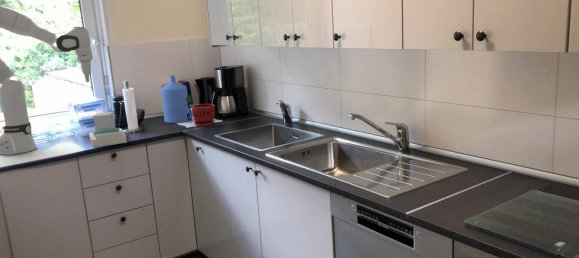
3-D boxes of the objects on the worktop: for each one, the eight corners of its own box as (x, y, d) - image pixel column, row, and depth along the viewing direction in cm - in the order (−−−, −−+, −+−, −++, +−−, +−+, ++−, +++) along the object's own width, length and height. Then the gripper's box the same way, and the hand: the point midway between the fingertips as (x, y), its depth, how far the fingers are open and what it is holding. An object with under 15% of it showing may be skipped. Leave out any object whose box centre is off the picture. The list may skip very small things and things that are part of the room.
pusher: (96, 143, 279) (95, 131, 278) (120, 140, 284) (118, 127, 282) (97, 145, 276) (95, 132, 274) (121, 141, 280) (119, 129, 279)
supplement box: (117, 137, 291) (113, 111, 288) (114, 141, 283) (110, 114, 279) (100, 139, 290) (96, 112, 287) (97, 143, 282) (92, 115, 278)
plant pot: (217, 126, 305) (215, 105, 302) (194, 128, 302) (192, 108, 299) (215, 121, 317) (213, 102, 314) (193, 124, 314) (190, 104, 311)
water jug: (172, 124, 317) (167, 78, 310) (159, 121, 328) (154, 76, 322) (195, 119, 327) (190, 74, 320) (181, 117, 338) (176, 73, 332)
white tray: (90, 139, 290) (88, 129, 289) (121, 135, 297) (120, 124, 296) (93, 147, 273) (91, 136, 271) (126, 142, 279) (125, 131, 278)
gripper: (76, 56, 296) (80, 80, 299) (78, 58, 278) (82, 84, 281) (88, 55, 299) (92, 79, 302) (91, 57, 281) (95, 83, 284)
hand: (87, 81), depth 291 cm, fingers closed
